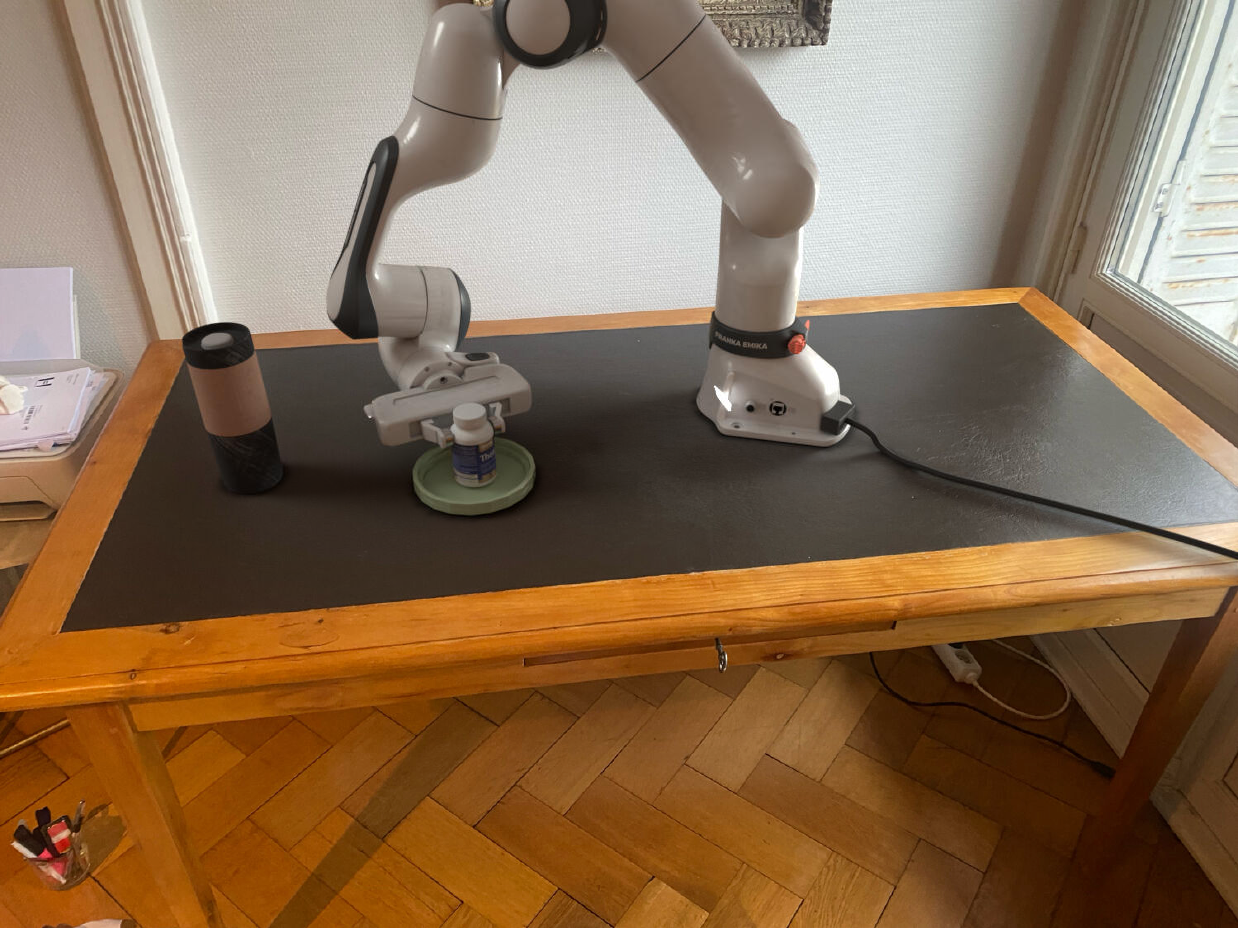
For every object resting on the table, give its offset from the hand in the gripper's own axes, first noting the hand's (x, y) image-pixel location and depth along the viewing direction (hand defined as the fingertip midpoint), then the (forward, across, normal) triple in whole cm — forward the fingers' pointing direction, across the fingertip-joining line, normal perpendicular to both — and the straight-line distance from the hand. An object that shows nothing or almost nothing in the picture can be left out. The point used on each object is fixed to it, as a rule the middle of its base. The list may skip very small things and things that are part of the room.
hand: (474, 435), depth 108 cm
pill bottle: (-1, 0, +7) cm, 7 cm away
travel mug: (-14, -25, +7) cm, 30 cm away
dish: (-1, 0, +7) cm, 7 cm away
